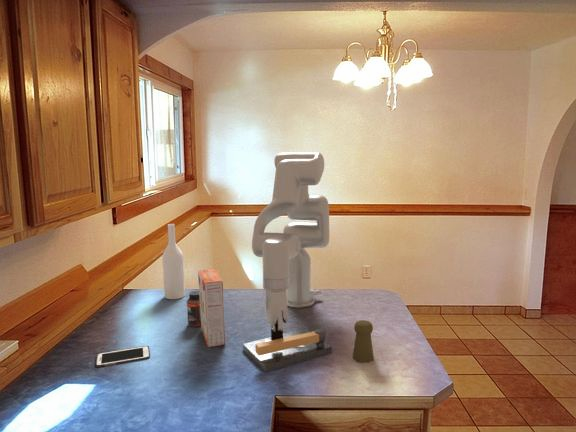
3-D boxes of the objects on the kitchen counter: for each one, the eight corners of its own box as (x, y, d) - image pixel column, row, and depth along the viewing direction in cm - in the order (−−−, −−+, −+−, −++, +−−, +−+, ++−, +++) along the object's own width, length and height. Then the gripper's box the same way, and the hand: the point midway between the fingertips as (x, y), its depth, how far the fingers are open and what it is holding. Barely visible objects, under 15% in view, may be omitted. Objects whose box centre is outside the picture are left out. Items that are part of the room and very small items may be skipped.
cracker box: (200, 330, 145) (197, 269, 141) (218, 327, 147) (215, 268, 143) (206, 348, 132) (203, 282, 128) (225, 345, 134) (223, 280, 130)
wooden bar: (322, 336, 131) (322, 328, 130) (327, 340, 128) (327, 332, 127) (255, 351, 122) (254, 342, 121) (259, 356, 119) (259, 347, 118)
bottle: (174, 300, 172) (170, 226, 167) (160, 297, 176) (156, 225, 172) (189, 294, 179) (185, 223, 174) (174, 291, 183) (171, 221, 178)
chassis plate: (305, 334, 141) (305, 323, 140) (331, 352, 128) (331, 341, 128) (243, 350, 130) (242, 339, 130) (265, 372, 117) (265, 360, 117)
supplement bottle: (207, 320, 152) (206, 290, 151) (202, 327, 147) (201, 295, 145) (191, 320, 153) (189, 289, 151) (185, 327, 147) (184, 295, 145)
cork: (360, 365, 121) (361, 327, 119) (348, 355, 126) (348, 320, 125) (377, 359, 124) (378, 323, 122) (364, 351, 129) (365, 316, 127)
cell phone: (150, 359, 126) (150, 356, 126) (95, 369, 121) (95, 365, 121) (149, 348, 133) (148, 345, 133) (97, 356, 128) (96, 353, 128)
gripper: (258, 275, 129) (260, 333, 132) (268, 292, 115) (269, 356, 118) (283, 273, 131) (283, 330, 134) (295, 289, 117) (296, 352, 120)
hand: (277, 342), depth 126 cm, fingers closed
